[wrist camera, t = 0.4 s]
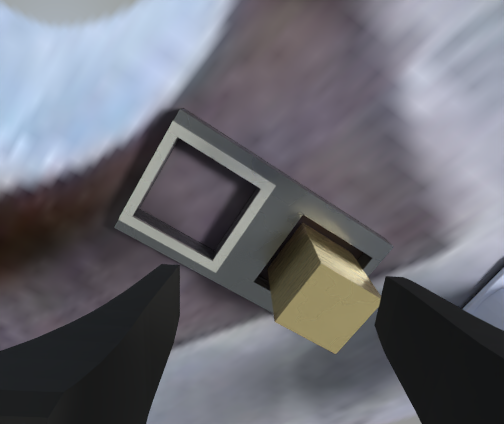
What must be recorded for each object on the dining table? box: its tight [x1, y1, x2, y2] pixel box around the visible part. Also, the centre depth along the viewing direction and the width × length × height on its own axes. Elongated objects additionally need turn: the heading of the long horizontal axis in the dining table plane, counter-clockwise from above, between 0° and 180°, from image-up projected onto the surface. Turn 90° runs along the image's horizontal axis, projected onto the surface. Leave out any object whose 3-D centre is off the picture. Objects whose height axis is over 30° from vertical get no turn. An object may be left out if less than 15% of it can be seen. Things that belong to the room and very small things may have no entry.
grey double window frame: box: [114, 108, 393, 314], centre depth 21 cm, size 15×8×1 cm, turn 57°
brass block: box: [267, 222, 381, 354], centre depth 20 cm, size 4×4×6 cm
